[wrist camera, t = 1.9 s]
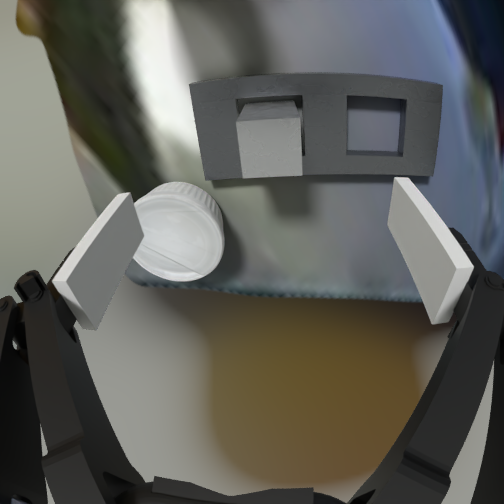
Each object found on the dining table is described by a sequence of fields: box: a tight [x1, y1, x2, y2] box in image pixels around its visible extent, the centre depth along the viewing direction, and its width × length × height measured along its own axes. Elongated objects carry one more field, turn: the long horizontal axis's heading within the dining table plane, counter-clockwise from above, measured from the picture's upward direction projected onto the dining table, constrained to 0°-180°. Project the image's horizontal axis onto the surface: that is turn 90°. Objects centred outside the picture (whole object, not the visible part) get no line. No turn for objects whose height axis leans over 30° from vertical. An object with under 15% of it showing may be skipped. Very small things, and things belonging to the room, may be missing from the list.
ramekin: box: [133, 182, 225, 281], centre depth 33 cm, size 11×11×5 cm
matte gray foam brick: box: [236, 100, 302, 178], centre depth 24 cm, size 4×4×8 cm
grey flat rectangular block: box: [189, 73, 443, 180], centre depth 26 cm, size 24×10×2 cm, turn 95°
